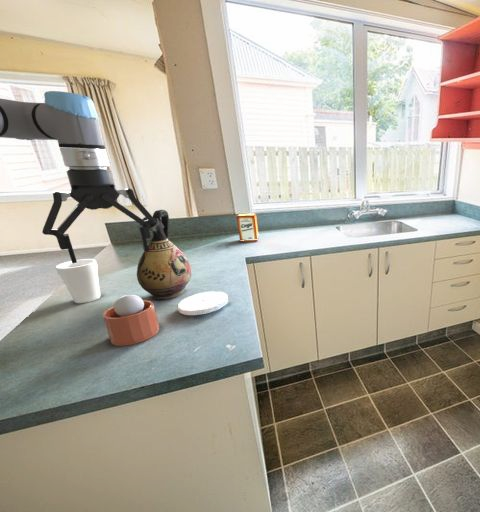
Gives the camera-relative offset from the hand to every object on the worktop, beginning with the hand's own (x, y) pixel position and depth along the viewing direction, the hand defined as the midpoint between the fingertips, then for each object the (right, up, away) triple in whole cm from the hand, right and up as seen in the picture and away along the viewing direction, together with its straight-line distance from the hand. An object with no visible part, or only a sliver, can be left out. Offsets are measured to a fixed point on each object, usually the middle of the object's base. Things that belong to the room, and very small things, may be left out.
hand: (112, 255), depth 75 cm
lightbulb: (0, -21, +7) cm, 22 cm away
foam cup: (-34, -15, +27) cm, 46 cm away
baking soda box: (-12, +9, +103) cm, 104 cm away
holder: (0, -22, +7) cm, 23 cm away
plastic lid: (+10, -17, +23) cm, 30 cm away
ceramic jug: (-9, -14, +33) cm, 36 cm away
